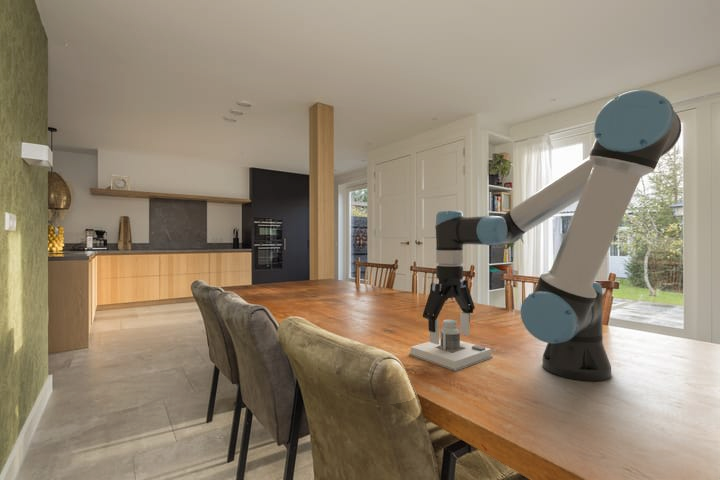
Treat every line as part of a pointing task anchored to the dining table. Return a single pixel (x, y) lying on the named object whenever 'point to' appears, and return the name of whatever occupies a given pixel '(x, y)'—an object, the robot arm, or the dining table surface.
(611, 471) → the dining table surface
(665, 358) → the dining table surface
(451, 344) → the pill bottle
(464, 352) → the socket plate
